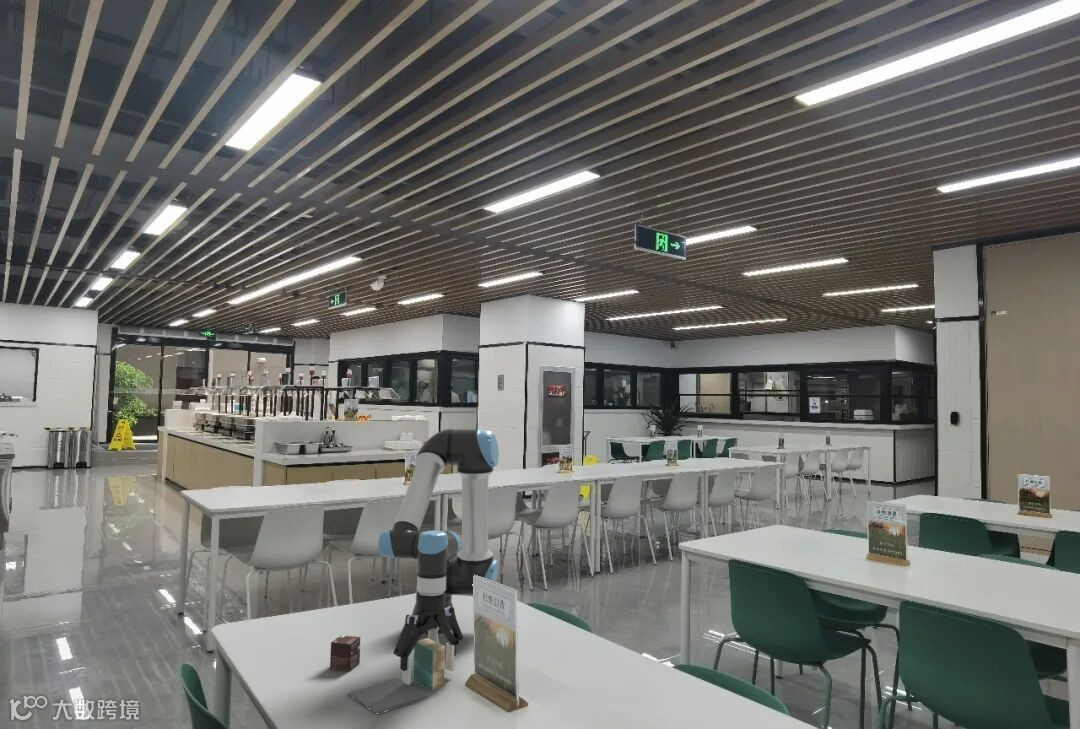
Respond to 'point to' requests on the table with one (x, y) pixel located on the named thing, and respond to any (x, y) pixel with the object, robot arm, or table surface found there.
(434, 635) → the flask
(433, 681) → the slab
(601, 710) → the table surface
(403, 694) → the mat
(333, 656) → the box
